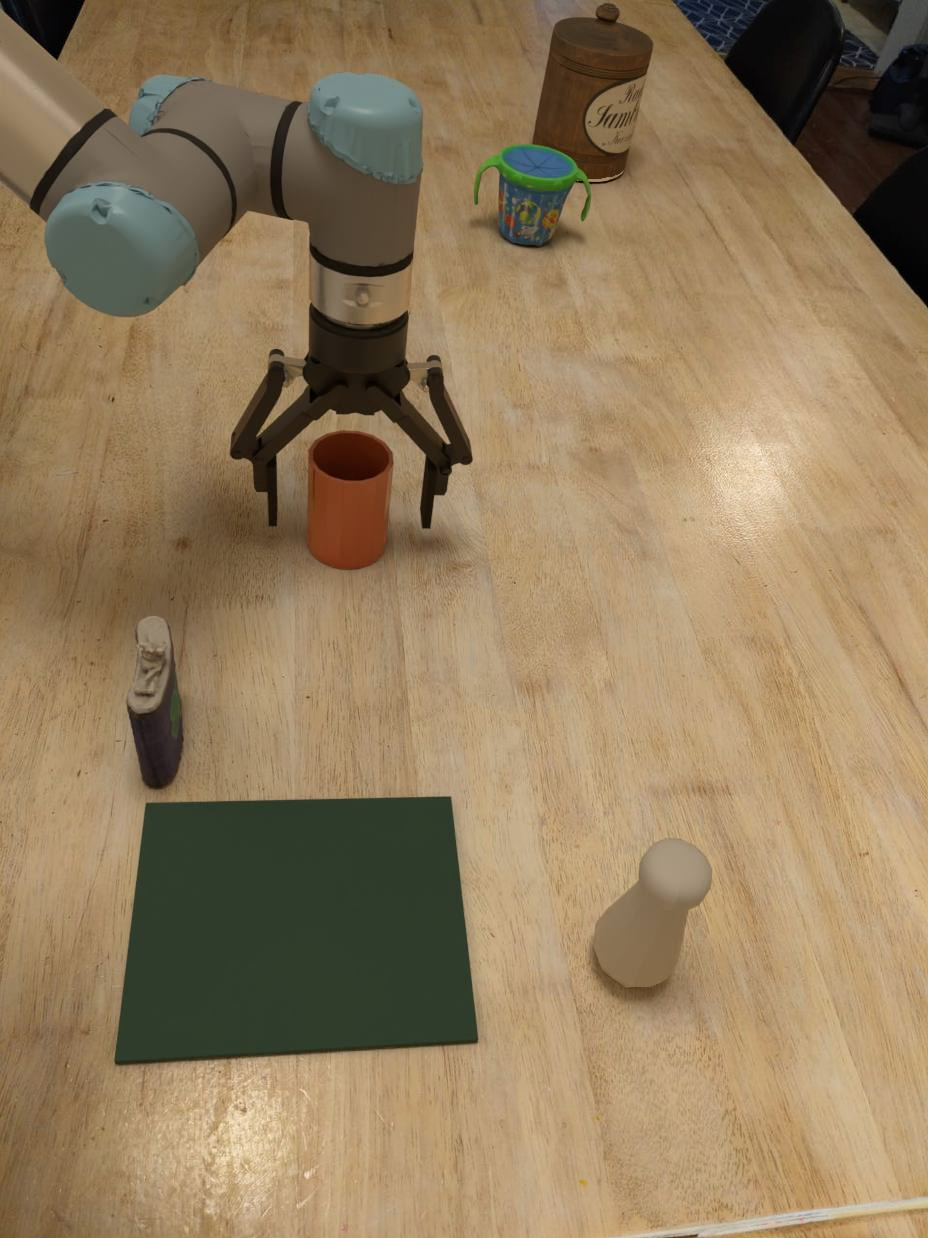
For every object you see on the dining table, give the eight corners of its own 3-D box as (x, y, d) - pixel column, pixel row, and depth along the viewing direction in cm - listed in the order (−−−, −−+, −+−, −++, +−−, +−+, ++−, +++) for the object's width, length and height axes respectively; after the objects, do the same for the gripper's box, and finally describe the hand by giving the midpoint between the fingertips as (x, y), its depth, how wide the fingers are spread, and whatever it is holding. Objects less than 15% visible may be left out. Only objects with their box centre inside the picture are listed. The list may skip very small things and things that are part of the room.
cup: (307, 568, 91) (308, 482, 84) (306, 515, 96) (308, 428, 89) (387, 570, 93) (395, 484, 85) (383, 516, 97) (390, 431, 90)
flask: (148, 690, 80) (133, 596, 72) (186, 690, 81) (176, 596, 73) (138, 791, 74) (121, 699, 66) (180, 789, 75) (168, 698, 67)
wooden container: (598, 193, 152) (634, 30, 136) (513, 160, 156) (538, -1, 140) (639, 163, 161) (678, 8, 145) (557, 133, 166) (586, -21, 150)
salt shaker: (568, 950, 70) (612, 852, 60) (625, 904, 73) (676, 804, 63) (630, 1018, 67) (685, 927, 58) (686, 967, 70) (748, 873, 61)
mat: (115, 1064, 61) (114, 1061, 61) (146, 806, 73) (145, 802, 73) (477, 1042, 65) (478, 1039, 64) (450, 799, 77) (451, 796, 76)
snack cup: (583, 228, 144) (599, 155, 136) (578, 263, 136) (594, 188, 129) (474, 207, 144) (484, 133, 136) (463, 241, 137) (473, 165, 129)
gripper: (184, 324, 72) (204, 544, 88) (529, 339, 76) (491, 547, 92) (192, 270, 77) (210, 487, 93) (515, 287, 81) (481, 493, 97)
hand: (349, 518), depth 92 cm, fingers open, 13 cm apart
